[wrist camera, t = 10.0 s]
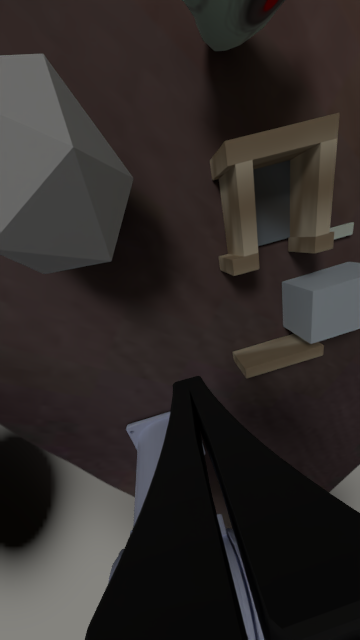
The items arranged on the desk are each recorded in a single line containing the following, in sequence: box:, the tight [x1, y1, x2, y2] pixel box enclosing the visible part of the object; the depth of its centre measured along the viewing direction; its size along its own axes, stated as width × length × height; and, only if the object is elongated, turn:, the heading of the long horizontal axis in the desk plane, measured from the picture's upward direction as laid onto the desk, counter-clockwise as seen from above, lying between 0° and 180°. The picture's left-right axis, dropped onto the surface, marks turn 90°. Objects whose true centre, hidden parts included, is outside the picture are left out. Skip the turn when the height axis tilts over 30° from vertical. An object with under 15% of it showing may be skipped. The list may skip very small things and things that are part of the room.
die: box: [0, 54, 134, 274], centre depth 10 cm, size 8×9×10 cm
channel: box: [210, 113, 339, 378], centre depth 16 cm, size 18×8×3 cm, turn 14°
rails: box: [330, 222, 354, 239], centre depth 19 cm, size 11×4×1 cm, turn 14°
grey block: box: [282, 262, 360, 344], centre depth 18 cm, size 5×7×4 cm
